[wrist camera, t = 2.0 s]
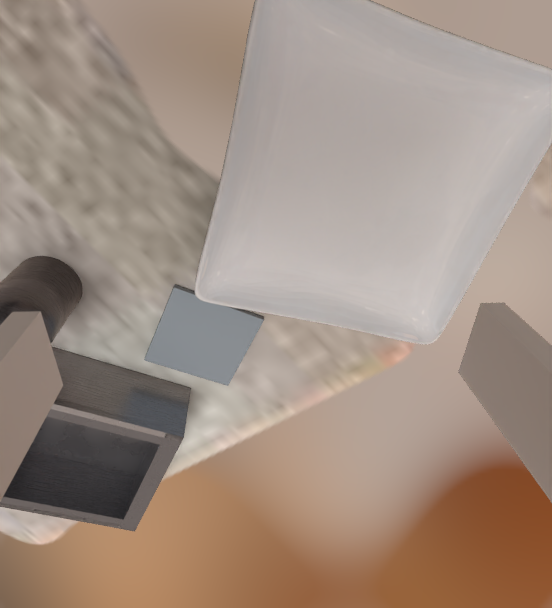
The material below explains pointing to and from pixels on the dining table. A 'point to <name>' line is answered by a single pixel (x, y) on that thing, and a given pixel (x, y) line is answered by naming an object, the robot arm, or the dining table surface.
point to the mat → (202, 337)
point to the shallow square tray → (101, 445)
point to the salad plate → (368, 167)
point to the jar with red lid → (41, 291)
